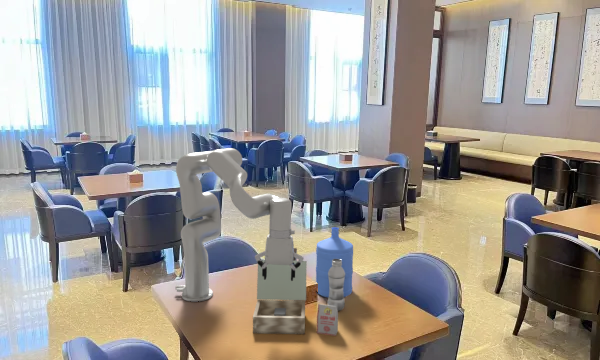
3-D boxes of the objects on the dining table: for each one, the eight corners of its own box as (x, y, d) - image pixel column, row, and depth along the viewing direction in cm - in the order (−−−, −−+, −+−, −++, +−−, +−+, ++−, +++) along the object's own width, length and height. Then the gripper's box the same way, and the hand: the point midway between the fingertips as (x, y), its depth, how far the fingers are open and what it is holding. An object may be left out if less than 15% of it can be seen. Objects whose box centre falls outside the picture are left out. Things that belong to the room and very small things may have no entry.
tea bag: (319, 328, 162) (319, 301, 160) (337, 330, 160) (338, 304, 158) (316, 333, 158) (317, 306, 156) (335, 335, 156) (336, 308, 155)
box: (252, 333, 158) (252, 317, 157) (257, 314, 171) (257, 299, 170) (304, 334, 157) (304, 318, 156) (305, 315, 171) (305, 300, 170)
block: (275, 319, 166) (275, 307, 165) (285, 319, 166) (285, 308, 165) (273, 326, 161) (273, 314, 160) (285, 326, 161) (285, 314, 160)
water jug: (353, 299, 186) (355, 233, 181) (315, 298, 186) (316, 233, 181) (350, 284, 201) (352, 223, 196) (315, 284, 201) (316, 223, 197)
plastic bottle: (343, 313, 173) (345, 263, 170) (326, 311, 174) (327, 262, 171) (345, 306, 179) (346, 258, 176) (328, 304, 180) (329, 256, 177)
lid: (258, 260, 173) (258, 260, 174) (256, 299, 171) (257, 299, 172) (306, 261, 172) (306, 260, 174) (306, 300, 170) (306, 299, 171)
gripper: (304, 230, 162) (302, 275, 165) (256, 228, 162) (255, 273, 166) (304, 237, 155) (302, 284, 158) (254, 235, 155) (253, 282, 158)
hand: (278, 278), depth 162 cm, fingers open, 9 cm apart
